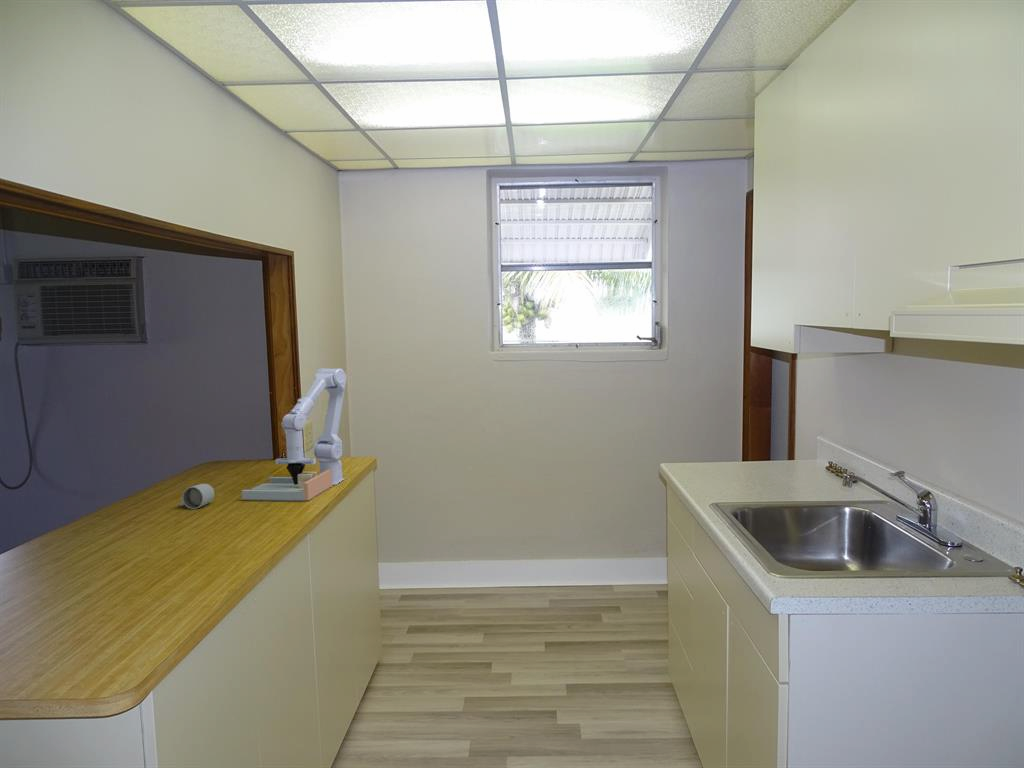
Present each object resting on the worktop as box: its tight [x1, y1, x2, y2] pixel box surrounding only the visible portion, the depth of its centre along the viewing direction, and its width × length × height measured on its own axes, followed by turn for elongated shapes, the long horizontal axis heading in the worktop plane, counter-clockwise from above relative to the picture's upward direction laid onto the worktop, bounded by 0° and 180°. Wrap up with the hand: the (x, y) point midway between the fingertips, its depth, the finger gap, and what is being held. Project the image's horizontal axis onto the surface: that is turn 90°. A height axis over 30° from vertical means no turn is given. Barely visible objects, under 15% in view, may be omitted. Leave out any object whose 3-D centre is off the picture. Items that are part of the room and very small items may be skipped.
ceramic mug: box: [179, 483, 215, 510], centre depth 233 cm, size 11×8×8 cm
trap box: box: [241, 470, 334, 502], centre depth 247 cm, size 21×24×6 cm
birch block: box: [298, 471, 318, 489], centre depth 245 cm, size 5×5×5 cm
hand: (296, 483), depth 246 cm, fingers closed
